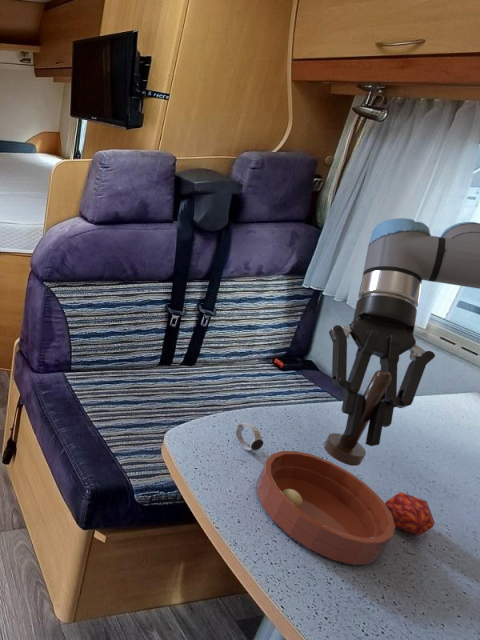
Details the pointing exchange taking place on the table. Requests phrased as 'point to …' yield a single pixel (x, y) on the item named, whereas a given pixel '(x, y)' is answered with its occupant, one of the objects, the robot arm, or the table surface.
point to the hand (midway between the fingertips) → (361, 440)
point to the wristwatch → (256, 441)
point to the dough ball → (293, 497)
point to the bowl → (325, 507)
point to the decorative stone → (410, 513)
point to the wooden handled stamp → (349, 447)
